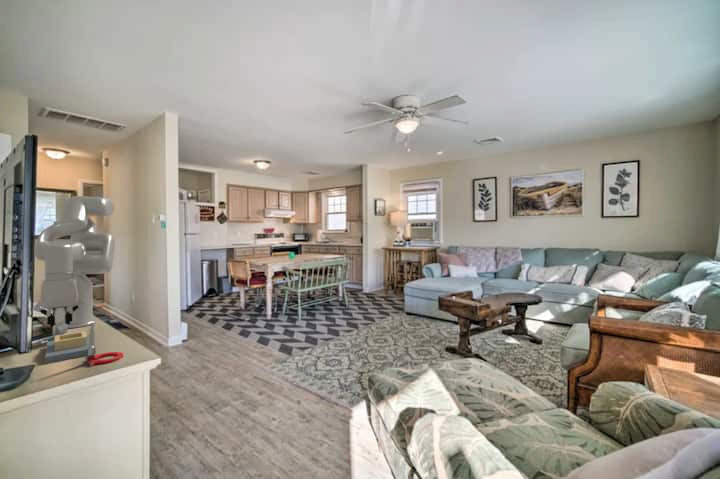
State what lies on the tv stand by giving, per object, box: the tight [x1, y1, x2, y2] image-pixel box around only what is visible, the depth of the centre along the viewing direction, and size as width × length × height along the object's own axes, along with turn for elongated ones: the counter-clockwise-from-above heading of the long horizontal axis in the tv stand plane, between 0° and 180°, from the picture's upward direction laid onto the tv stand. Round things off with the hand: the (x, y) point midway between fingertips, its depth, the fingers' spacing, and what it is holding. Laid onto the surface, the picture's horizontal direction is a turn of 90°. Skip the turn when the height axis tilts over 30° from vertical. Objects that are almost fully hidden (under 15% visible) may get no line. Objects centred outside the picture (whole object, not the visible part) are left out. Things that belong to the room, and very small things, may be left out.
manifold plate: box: [44, 330, 96, 364], centre depth 108 cm, size 18×12×5 cm, turn 44°
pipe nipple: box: [51, 306, 69, 336], centre depth 116 cm, size 4×4×10 cm
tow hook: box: [85, 322, 124, 367], centre depth 101 cm, size 8×13×9 cm
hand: (60, 324), depth 117 cm, fingers closed on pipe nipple, 4 cm apart
